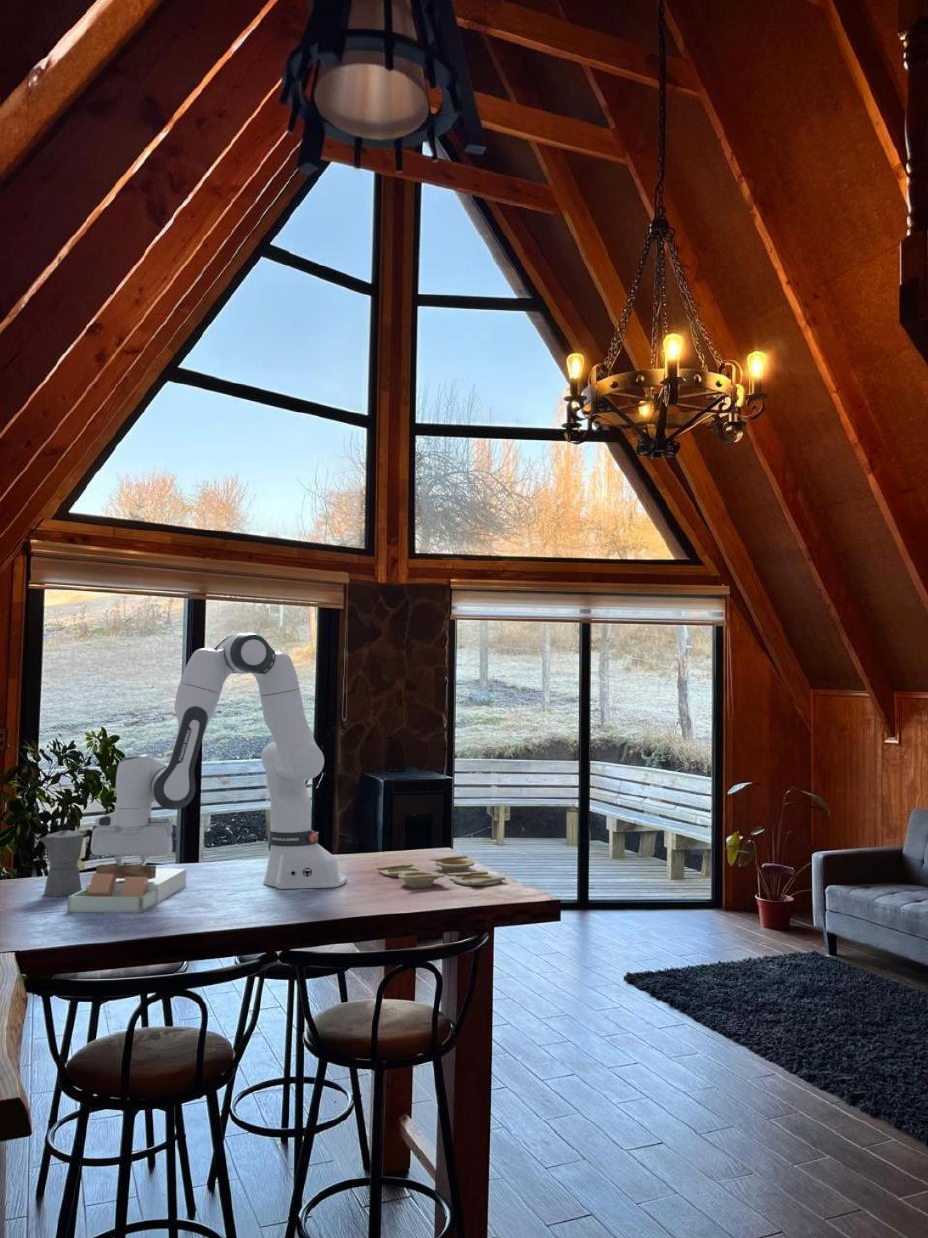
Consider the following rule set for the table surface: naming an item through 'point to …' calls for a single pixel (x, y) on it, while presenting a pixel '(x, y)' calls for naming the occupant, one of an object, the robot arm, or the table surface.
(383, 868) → the tableware set
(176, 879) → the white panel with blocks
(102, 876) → the tile
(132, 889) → the tile
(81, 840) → the coffeepot
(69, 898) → the box
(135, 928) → the table surface
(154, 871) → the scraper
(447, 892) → the table surface
